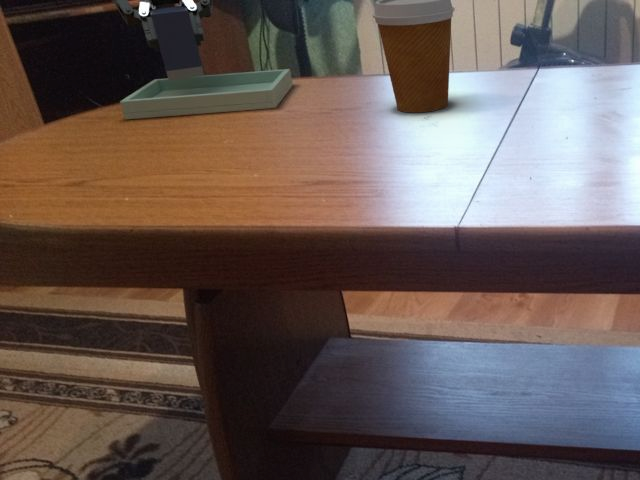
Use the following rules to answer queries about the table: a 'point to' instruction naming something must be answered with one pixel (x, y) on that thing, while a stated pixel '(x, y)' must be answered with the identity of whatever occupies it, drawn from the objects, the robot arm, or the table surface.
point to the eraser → (177, 42)
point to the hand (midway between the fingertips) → (177, 44)
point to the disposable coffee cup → (417, 51)
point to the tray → (208, 94)
